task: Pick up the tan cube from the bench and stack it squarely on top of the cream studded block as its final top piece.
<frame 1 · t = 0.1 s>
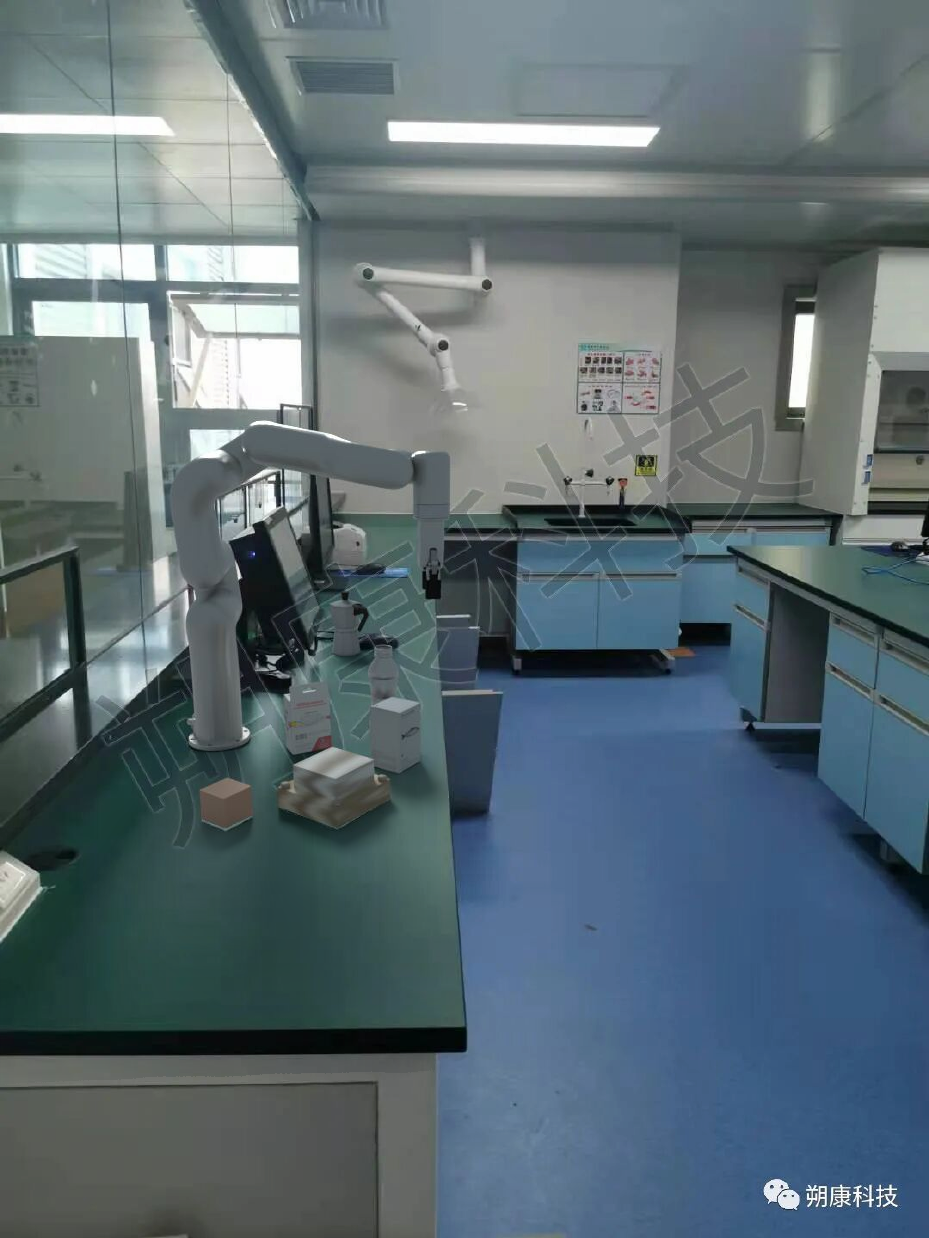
hand: (431, 593, 175), 31 cm above the table, tool pointing down, fingers open, 9 cm apart
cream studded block: (335, 803, 149), on the table
ink cartridge box: (308, 748, 174), on the table
plastic bottle: (384, 737, 181), on the table
tan cube: (227, 820, 143), on the table
coffee maker: (349, 653, 243), on the table
supplement box: (395, 764, 167), on the table
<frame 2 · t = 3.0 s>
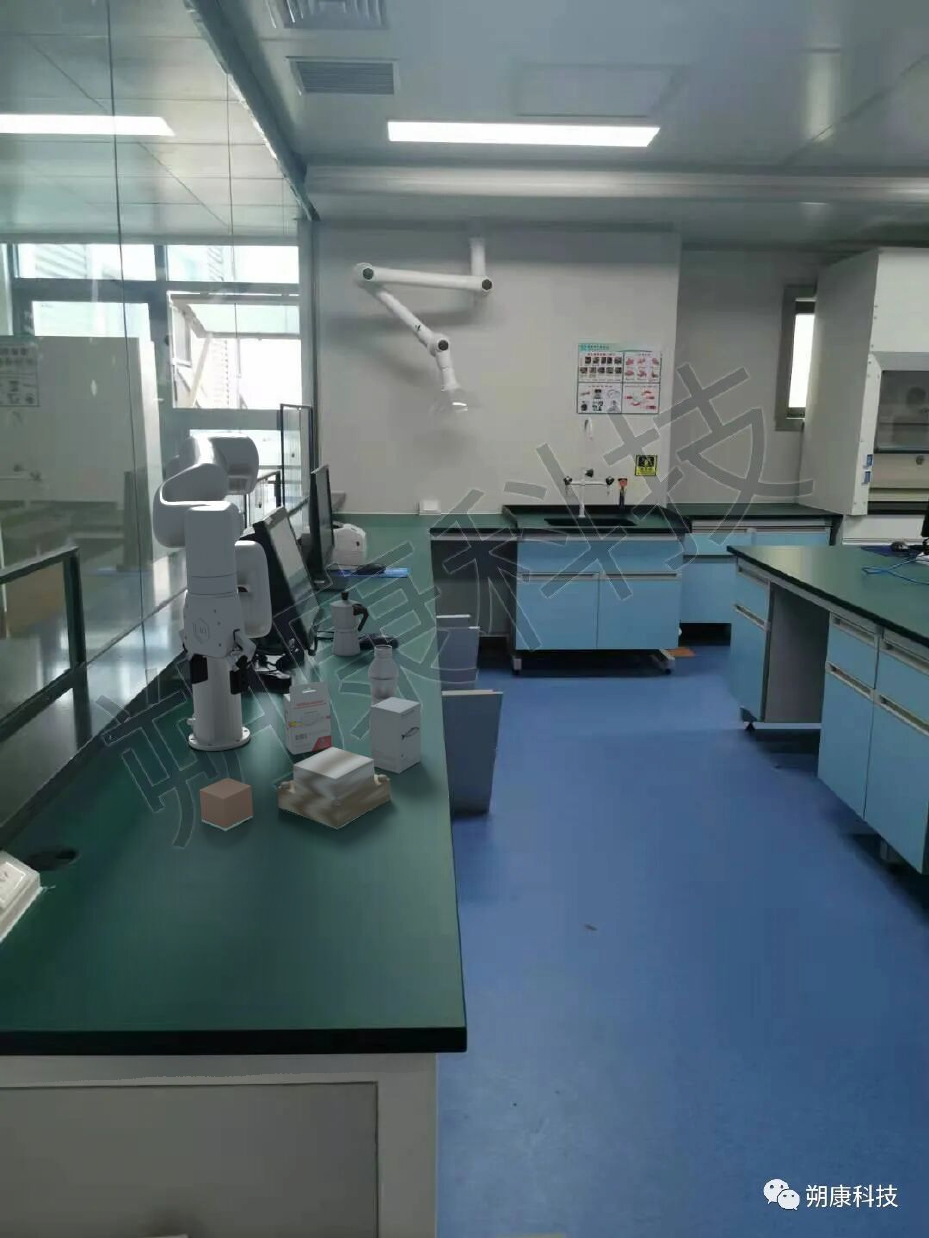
hand: (219, 687, 137), 24 cm above the table, tool pointing down, fingers open, 9 cm apart
nothing on the table moved.
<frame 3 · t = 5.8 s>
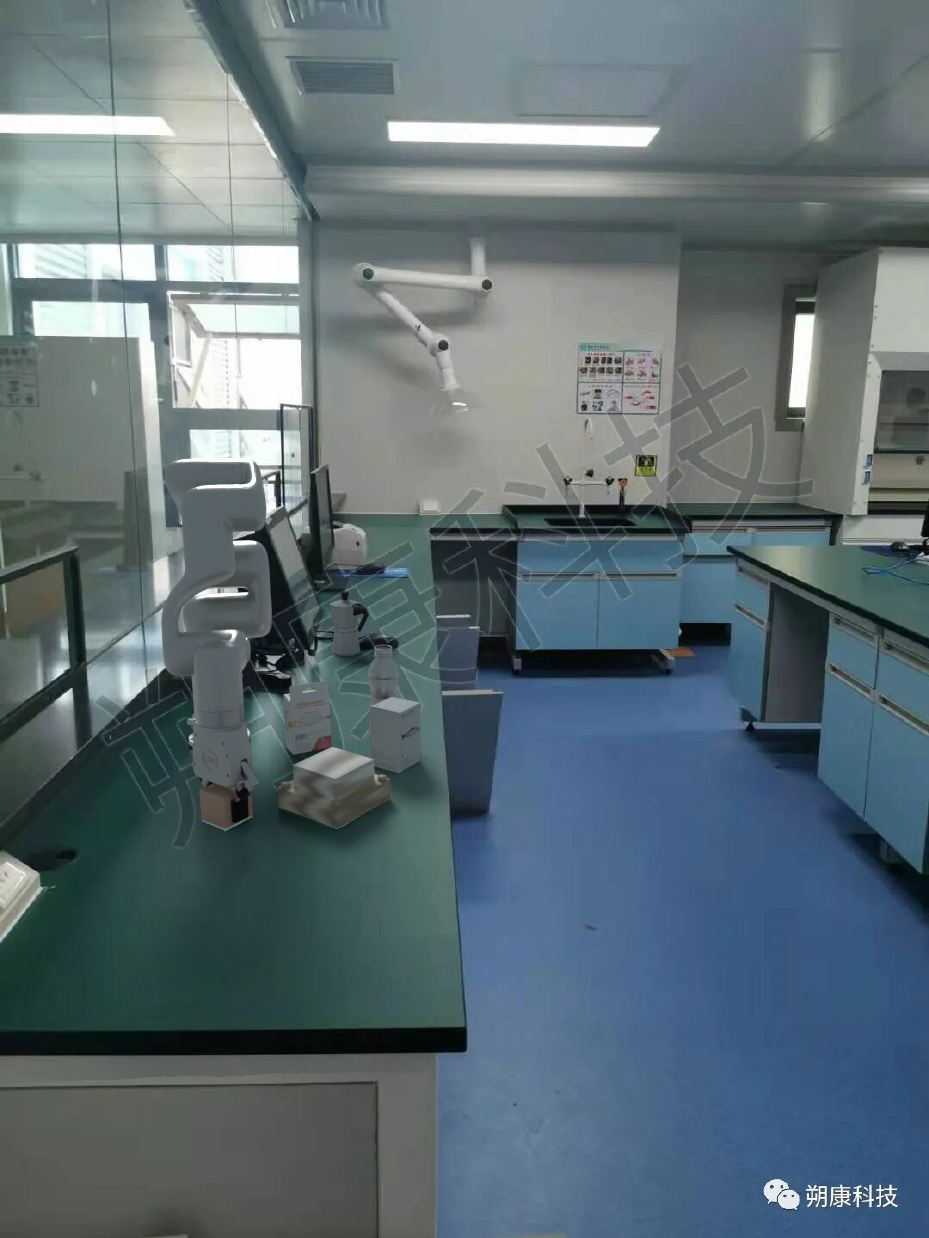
hand: (227, 813, 143), 1 cm above the table, tool pointing down, fingers closed on tan cube, 6 cm apart
tan cube: (227, 819, 143), on the table, touching gripper
everything else where it was.
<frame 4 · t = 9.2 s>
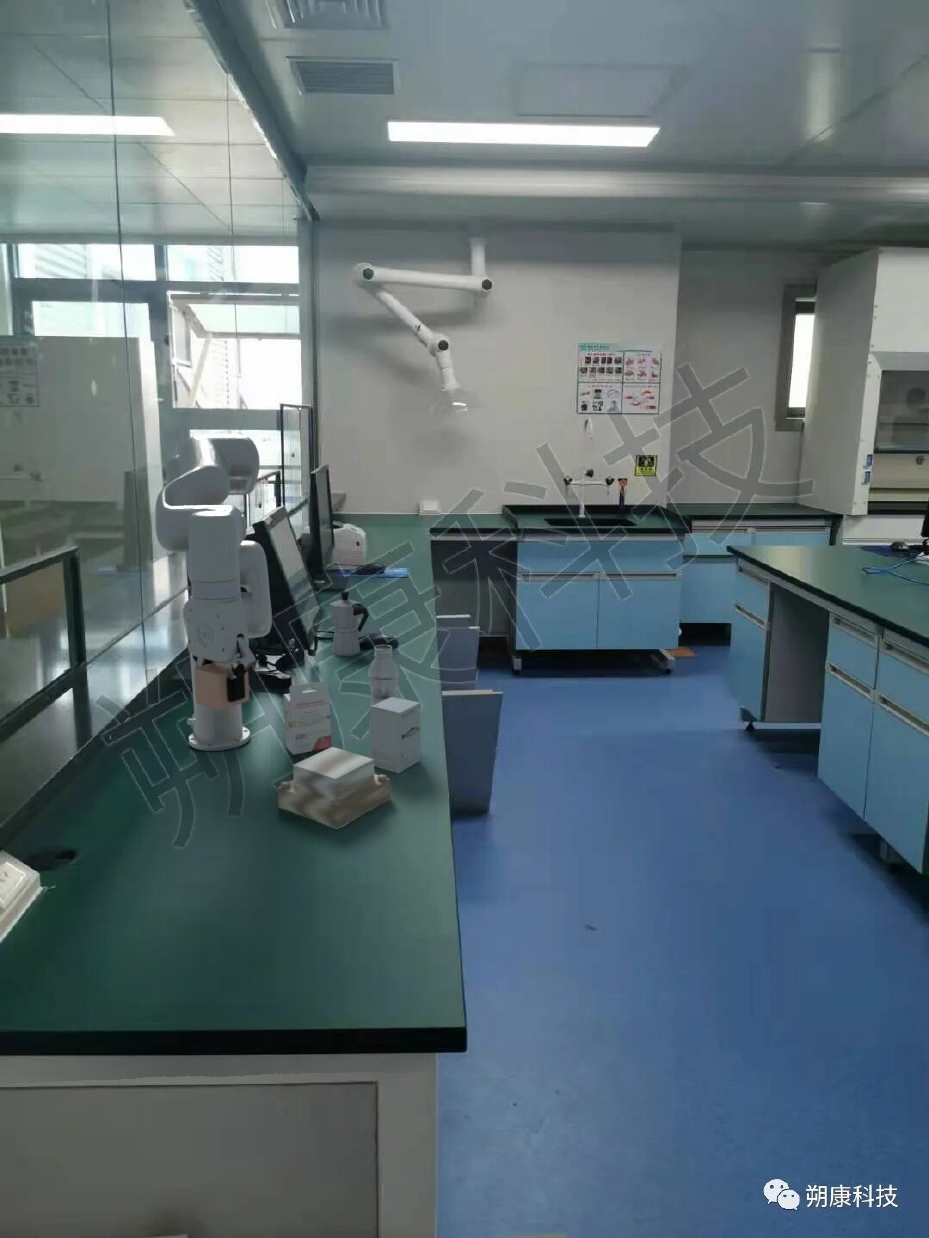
hand: (222, 694, 138), 22 cm above the table, tool pointing down, fingers closed on tan cube, 6 cm apart
tan cube: (223, 701, 138), point 21 cm above the table, touching gripper
everything else where it was.
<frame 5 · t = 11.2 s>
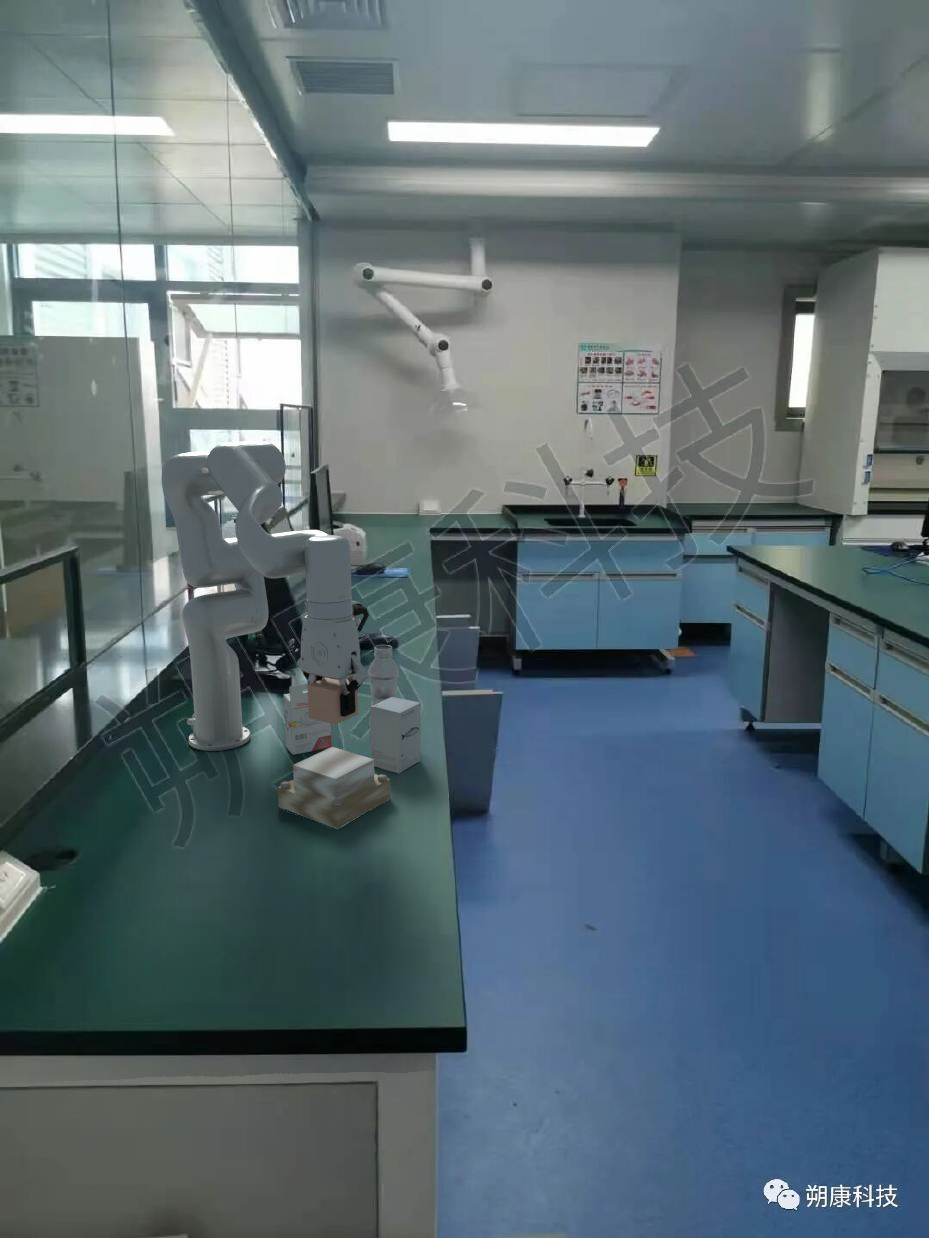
hand: (333, 709, 145), 18 cm above the table, tool pointing down, fingers closed on tan cube, 6 cm apart
tan cube: (333, 716, 145), point 17 cm above the table, touching gripper
everything else where it was.
when the fingers open (11 cm above the table, at t = 12.7 s): tan cube drops 2 cm, resting on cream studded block.
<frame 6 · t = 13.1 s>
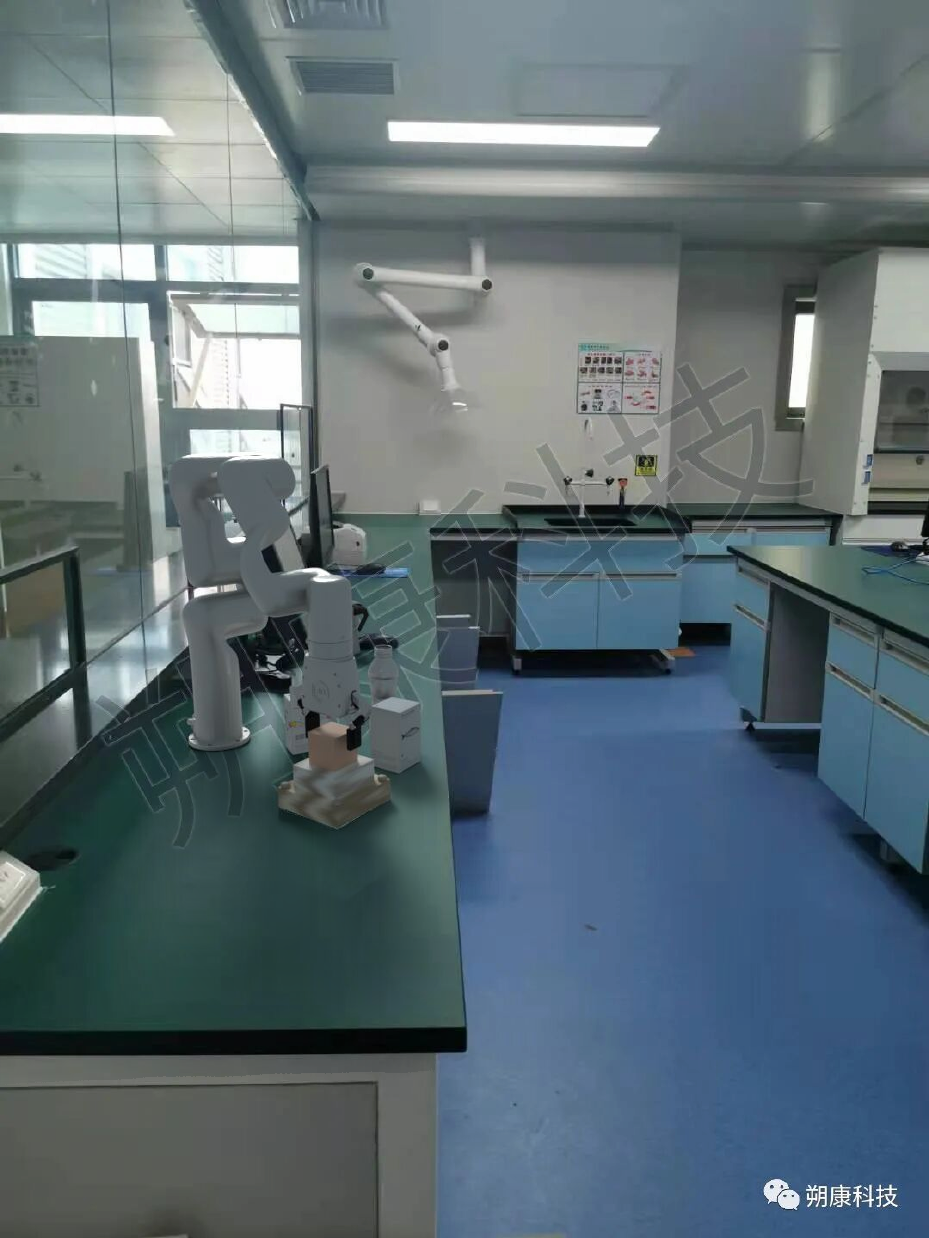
hand: (333, 741, 147), 12 cm above the table, tool pointing down, fingers open, 9 cm apart
tan cube: (333, 762, 148), point 8 cm above the table, touching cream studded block
everything else where it was.
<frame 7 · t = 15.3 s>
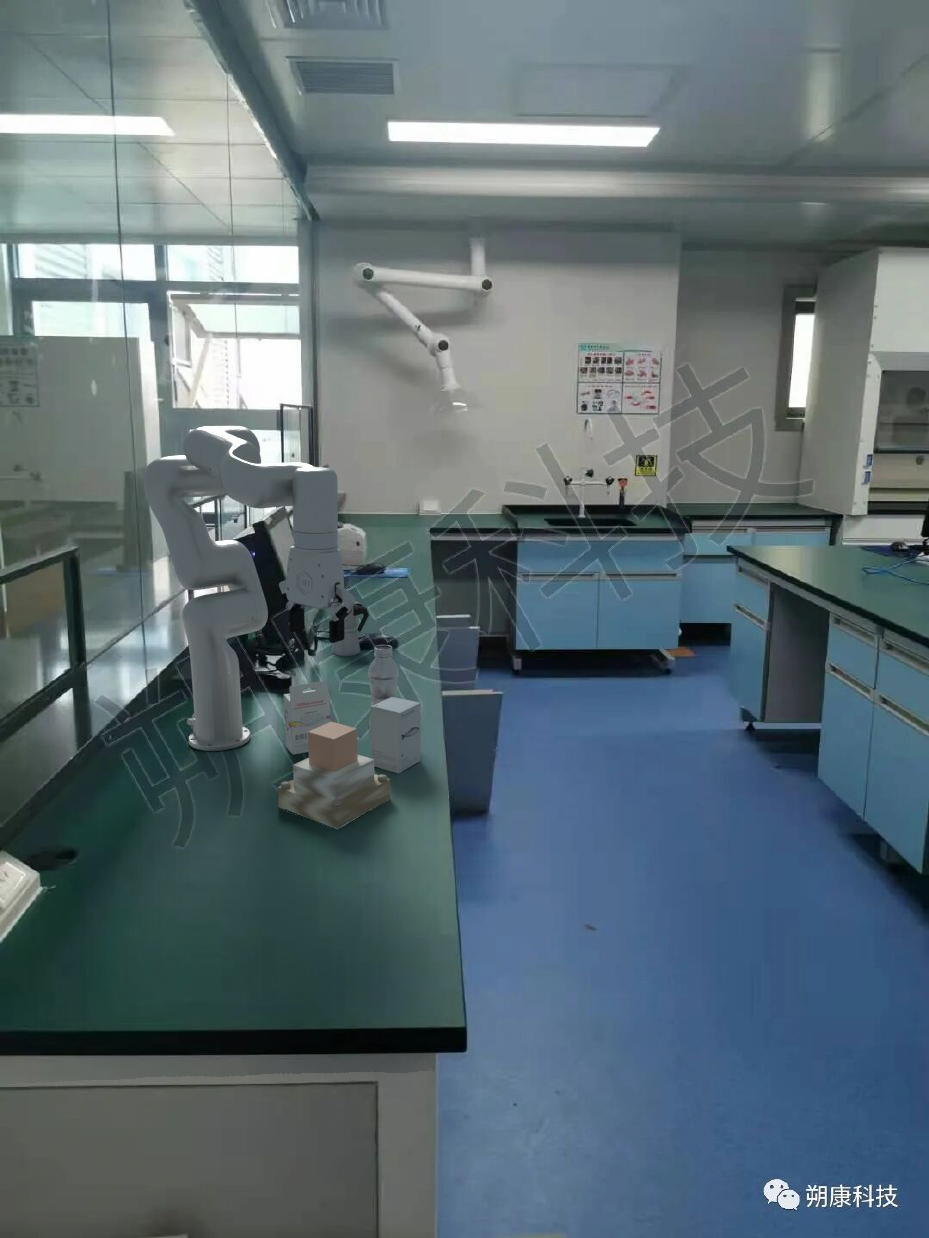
hand: (316, 635, 148), 29 cm above the table, tool pointing down, fingers open, 9 cm apart
nothing on the table moved.
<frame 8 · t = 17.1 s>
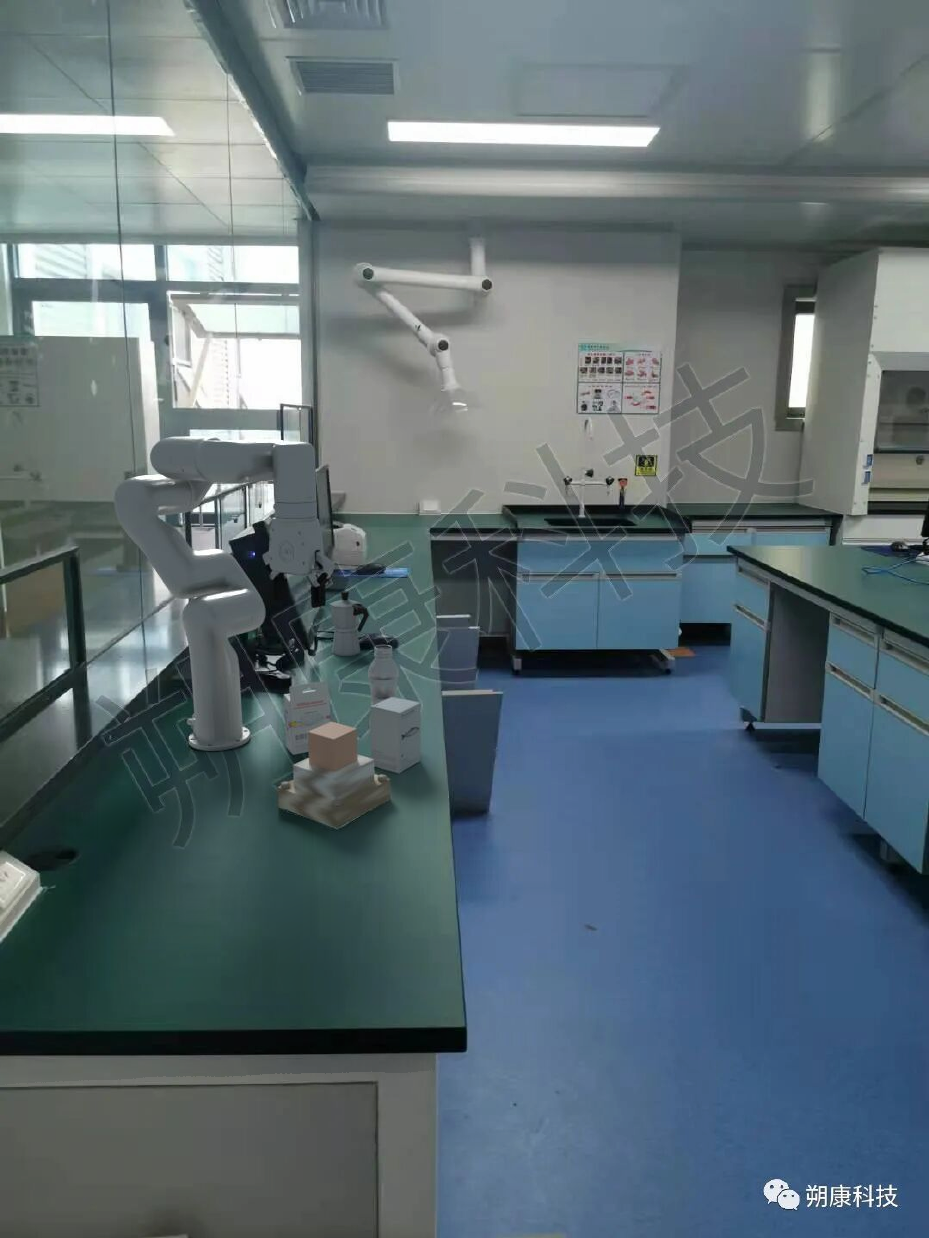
hand: (299, 603, 156), 33 cm above the table, tool pointing down, fingers open, 9 cm apart
nothing on the table moved.
at the end: tan cube inside the target area on the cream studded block (0.1 cm from its centre), point 8.0 cm above the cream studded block's base; tan cube tilted 0°; the gripper is holding nothing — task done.
